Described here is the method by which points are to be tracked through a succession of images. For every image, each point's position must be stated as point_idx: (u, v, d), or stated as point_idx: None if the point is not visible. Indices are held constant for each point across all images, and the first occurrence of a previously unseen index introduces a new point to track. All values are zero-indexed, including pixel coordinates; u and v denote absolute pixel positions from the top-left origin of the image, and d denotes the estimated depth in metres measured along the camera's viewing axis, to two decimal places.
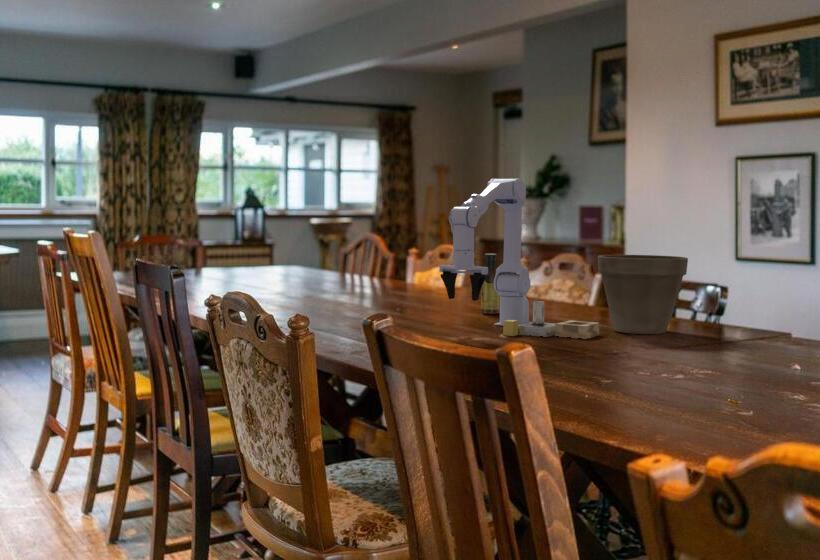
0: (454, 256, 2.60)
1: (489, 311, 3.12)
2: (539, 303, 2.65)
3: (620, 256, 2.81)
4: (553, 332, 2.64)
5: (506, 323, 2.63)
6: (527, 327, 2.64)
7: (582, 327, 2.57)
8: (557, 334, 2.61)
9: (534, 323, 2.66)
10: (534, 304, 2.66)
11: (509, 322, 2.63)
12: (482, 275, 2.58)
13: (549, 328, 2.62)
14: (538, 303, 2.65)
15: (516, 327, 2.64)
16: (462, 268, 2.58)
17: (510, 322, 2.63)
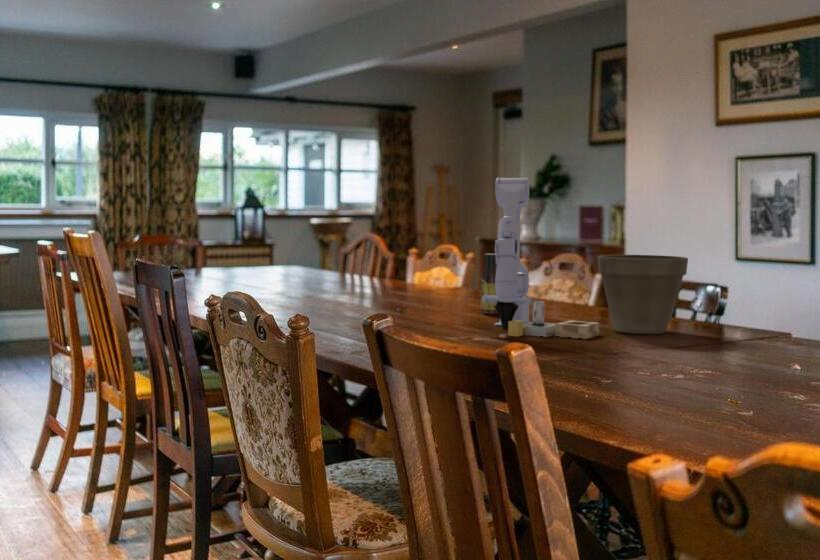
0: (498, 287, 2.63)
1: (489, 311, 3.12)
2: (539, 303, 2.65)
3: (620, 256, 2.81)
4: (553, 332, 2.64)
5: (511, 323, 2.63)
6: (527, 327, 2.64)
7: (582, 327, 2.57)
8: (557, 334, 2.61)
9: (534, 323, 2.66)
10: (534, 304, 2.66)
11: (514, 322, 2.62)
12: (514, 305, 2.63)
13: (549, 328, 2.62)
14: (538, 303, 2.65)
15: (521, 327, 2.63)
16: (506, 299, 2.62)
17: (515, 323, 2.62)
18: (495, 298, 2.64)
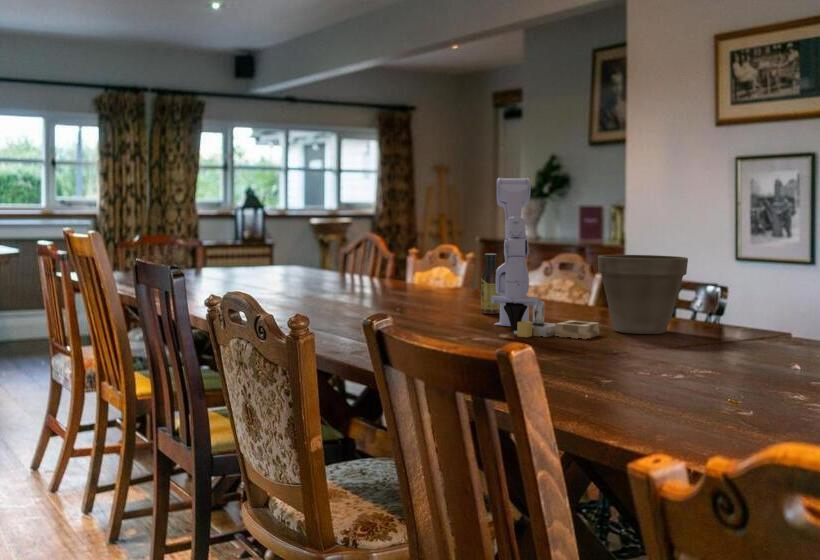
0: (507, 287, 2.62)
1: (489, 311, 3.12)
2: None
3: (620, 256, 2.81)
4: (553, 332, 2.64)
5: (520, 324, 2.61)
6: None
7: (582, 327, 2.57)
8: (557, 334, 2.61)
9: (534, 323, 2.66)
10: None
11: (523, 323, 2.60)
12: (523, 306, 2.62)
13: (549, 328, 2.62)
14: None
15: (530, 328, 2.62)
16: (515, 299, 2.60)
17: (524, 323, 2.60)
18: (504, 299, 2.62)
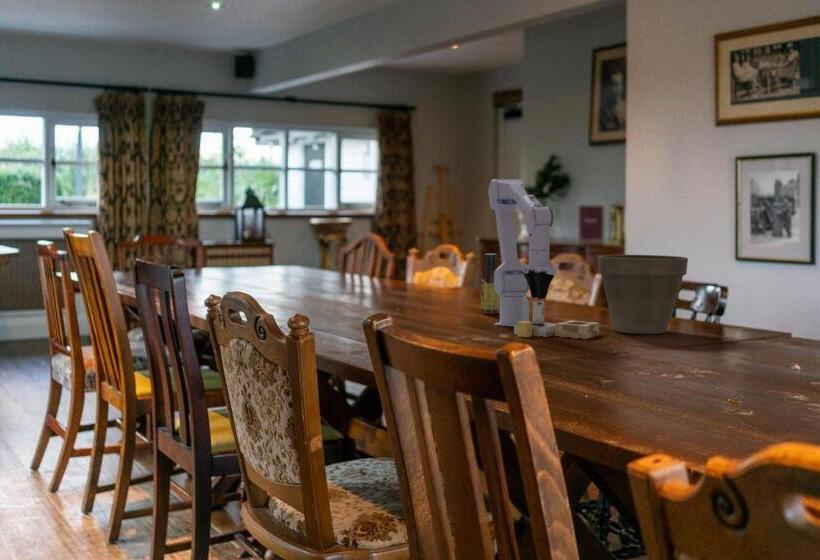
0: (529, 255, 2.66)
1: (489, 311, 3.12)
2: (539, 303, 2.65)
3: (620, 256, 2.81)
4: (553, 332, 2.64)
5: (520, 324, 2.61)
6: None
7: (582, 327, 2.57)
8: (557, 334, 2.61)
9: (534, 323, 2.66)
10: (534, 304, 2.66)
11: (523, 323, 2.60)
12: (546, 274, 2.62)
13: (549, 328, 2.62)
14: (538, 303, 2.65)
15: (530, 328, 2.62)
16: (533, 267, 2.64)
17: (524, 323, 2.60)
18: None
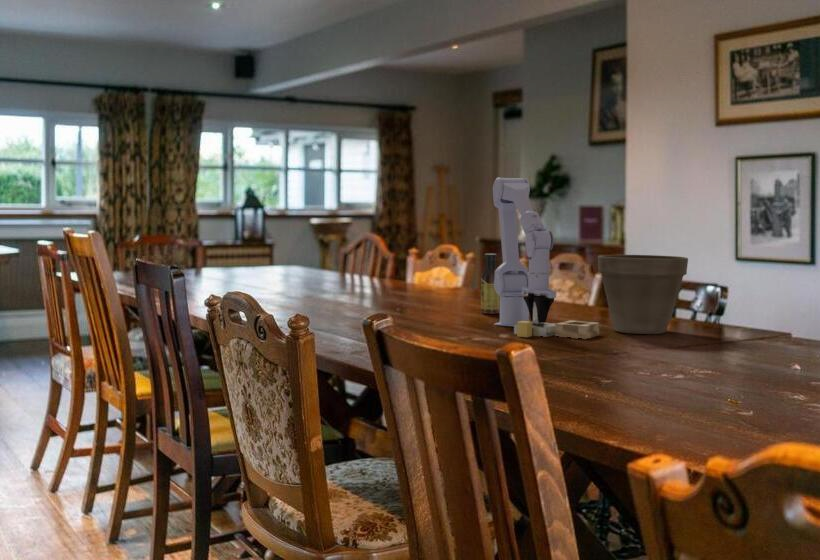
0: (528, 279, 2.67)
1: (489, 311, 3.12)
2: None
3: (620, 256, 2.81)
4: (553, 332, 2.64)
5: (520, 324, 2.61)
6: None
7: (582, 327, 2.57)
8: (557, 334, 2.61)
9: (534, 323, 2.66)
10: (534, 304, 2.66)
11: (523, 323, 2.60)
12: (546, 298, 2.63)
13: (549, 328, 2.62)
14: None
15: (530, 328, 2.62)
16: (533, 291, 2.64)
17: (524, 323, 2.60)
18: None
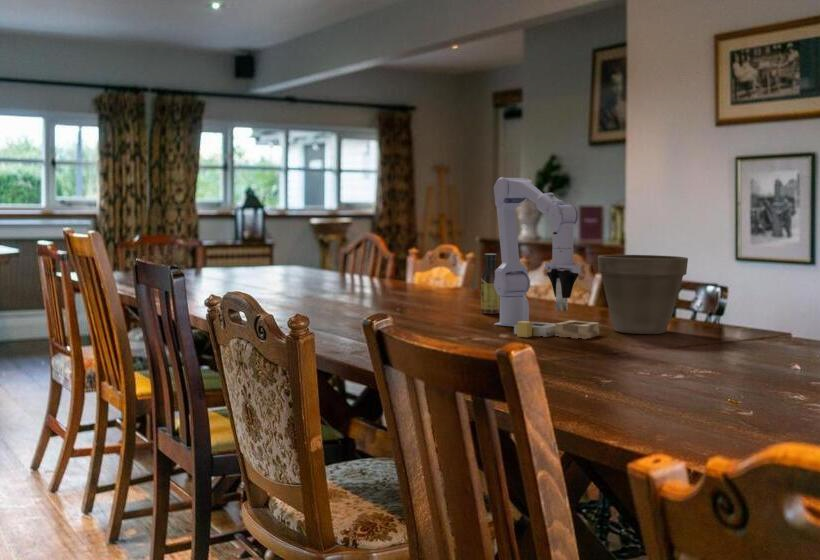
0: (552, 254, 2.63)
1: (489, 311, 3.12)
2: None
3: (620, 256, 2.81)
4: (553, 332, 2.64)
5: (520, 324, 2.61)
6: None
7: (582, 327, 2.57)
8: (557, 334, 2.61)
9: (557, 300, 2.63)
10: (557, 280, 2.63)
11: (523, 323, 2.60)
12: (570, 273, 2.59)
13: (549, 328, 2.62)
14: None
15: (530, 328, 2.62)
16: (557, 266, 2.61)
17: (524, 323, 2.60)
18: None
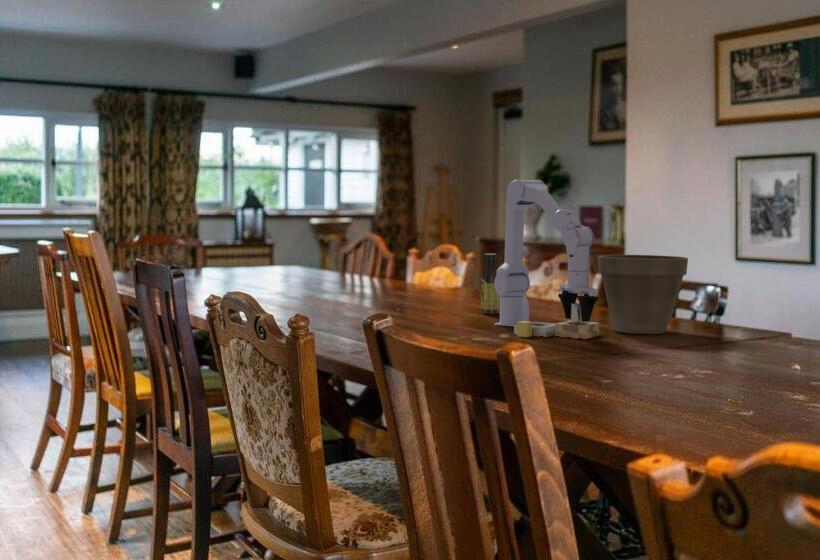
0: None
1: (489, 311, 3.12)
2: (577, 305, 2.61)
3: (620, 256, 2.81)
4: (553, 332, 2.64)
5: (520, 324, 2.61)
6: None
7: (582, 327, 2.57)
8: (557, 334, 2.61)
9: None
10: (572, 306, 2.61)
11: (523, 323, 2.60)
12: (590, 297, 2.56)
13: (549, 328, 2.62)
14: (576, 305, 2.61)
15: (530, 328, 2.62)
16: (572, 289, 2.59)
17: (524, 323, 2.60)
18: None
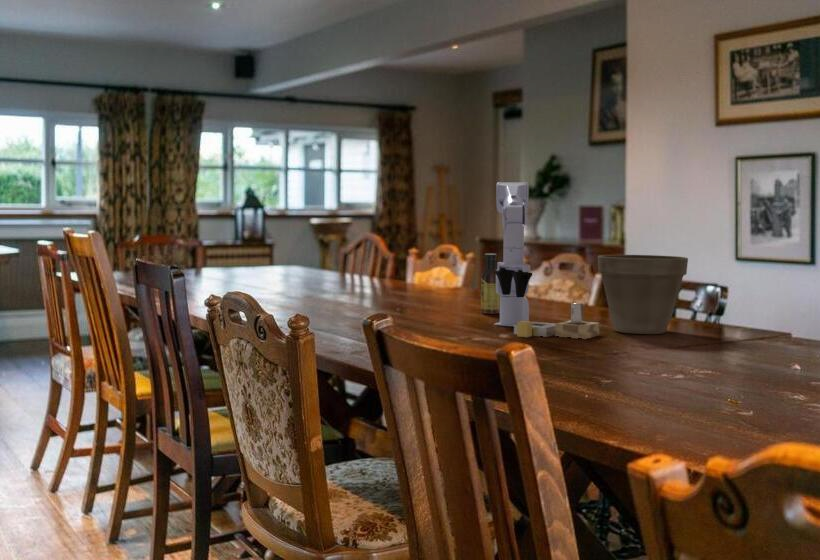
0: (503, 253, 2.68)
1: (489, 311, 3.12)
2: (577, 305, 2.61)
3: (620, 256, 2.81)
4: (553, 332, 2.64)
5: (520, 324, 2.61)
6: None
7: (582, 327, 2.57)
8: (557, 334, 2.61)
9: None
10: (572, 306, 2.61)
11: (523, 323, 2.60)
12: (524, 273, 2.63)
13: (549, 328, 2.62)
14: (576, 305, 2.61)
15: (530, 328, 2.62)
16: (507, 265, 2.66)
17: (524, 323, 2.60)
18: None
